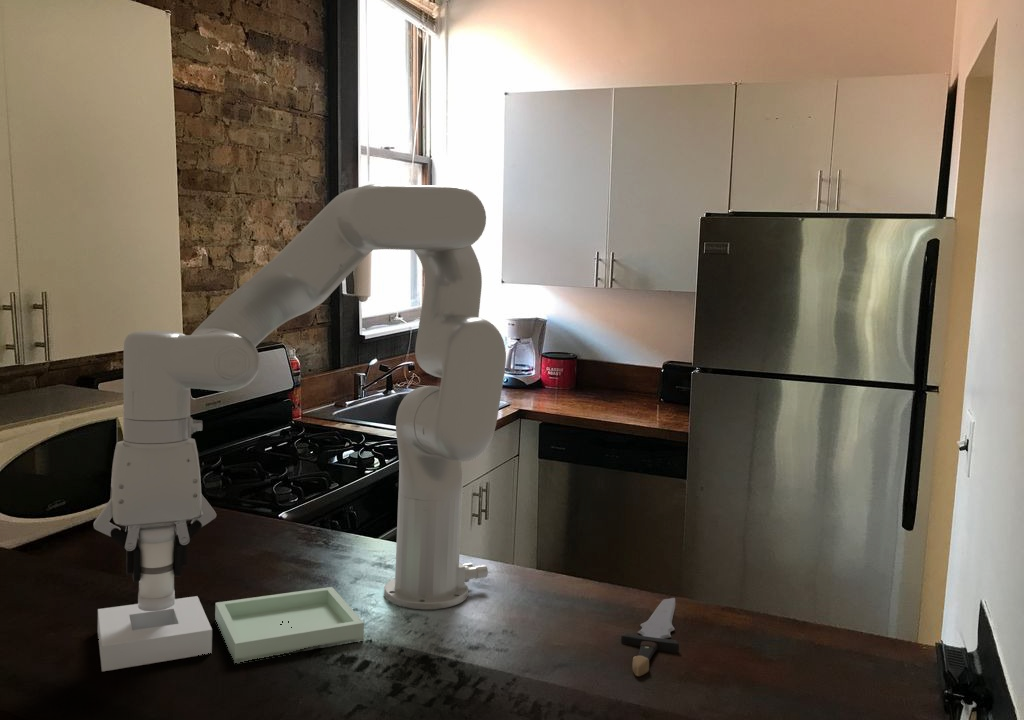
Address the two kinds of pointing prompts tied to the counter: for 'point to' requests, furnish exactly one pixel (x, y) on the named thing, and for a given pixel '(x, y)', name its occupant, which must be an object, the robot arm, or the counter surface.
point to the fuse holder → (152, 634)
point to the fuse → (156, 566)
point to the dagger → (653, 636)
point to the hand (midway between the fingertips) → (156, 574)
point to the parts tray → (286, 623)
